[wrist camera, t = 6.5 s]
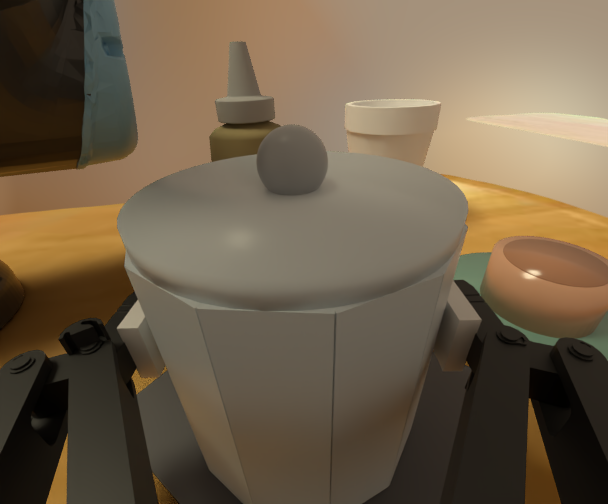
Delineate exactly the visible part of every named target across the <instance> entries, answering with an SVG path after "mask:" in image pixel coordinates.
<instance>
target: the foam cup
mask: <svg viewBox="0 0 608 504" xmlns="http://www.w3.org/2000/svg"><path fill="white" fill-rule="evenodd" d="M440 107H441V103H440V102H439V101H432V100H416V99H390V100H389V99H386V100H366V101H356V102H350V103H347V104H346V105H345V129H346V130H347V141H348V152H350V153H360V154H368V155H376V156H382V157H387V158H392V159H397V160H401V161H405V162H409V163H412V164H416V165H419V166H421V167H423V164H424V161H425V158H426V155H427V151H428V148H429V145H430V142H431V138H432V135H433V132H434V130H436V129H437V124H438V118H439V113H440Z"/></svg>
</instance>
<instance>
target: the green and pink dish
mask: <svg viewBox="0 0 608 504" xmlns="http://www.w3.org/2000/svg"><path fill="white" fill-rule="evenodd" d="M453 280H465V281H466V282H468V283H469V284H471V285H472V286H474V288H475V289H476V290H477V291H478V293H479V294H480V296H482V298H483V299H484V300H485V303H487V304H488V305H489V307H490V308H491V309H492V310H493V312H494V313H495V314H496V315H497V317H498V318H499V319H500V320H501V322H502V323H503V324H504V325H507V326H511V327H513V328H515V329H517V330H519V331H520V332H522V333H523V334H524V335H525V336H526V337H527V338H528V339H529V341H532V342H537V343H542V344H546V345H551V346H554V345H555V344H556V342H557V341H558V340H559V339H560V338H564V337H568V338H575V339H578V340H582V341H584V342H586V343H588V344H590V345H592V346H594V347H595V348H596V349H598V350H599V351H600V352H601V353H602V354H603V355H604V356H605V357H606V359H607V361H608V260H607V259H606V258H604V257H602V256H600V255H598V254H596V253H594V252H592V251H590V250H587V249H585V248H582V247H579V246H577V245H573V244H570V243H567V242H563V241H559V240H554V239H549V238H543V237H534V236H514V237H508V238H504V239H502V240H500V241H498V242H497V243H496V244H495V245H494V248H493V250H492V253H491V252H490V253H471V254H465V255H461V256H460V257H459V260H458V264H457V268H456V271H455V275H454V278H453Z"/></svg>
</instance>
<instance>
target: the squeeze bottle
mask: <svg viewBox="0 0 608 504" xmlns="http://www.w3.org/2000/svg"><path fill="white" fill-rule="evenodd" d="M215 104H216V110H217V115H218V121H219V122H221V123H226V124H224V125H223V126H220V127H218V128H216V129H215V130H214V131H213V133H212V134H211V135H210V149H211V160H212V162H214V161H219V160H224V159H229V158H235V157H241V156H248V155H255V154H257V152H258V149H259V146H260V144H261V142H262V141H263V139H264V138H265V137H266V136H267V135H268V134H269V133H270V132H271V131H272V130H274V129H276V128H278V127H281V126H280V125H278V124H275V123H273V122H270V120H273V119H274V118H275V111H274V99H273V97H269V96H262V95H261V94H260V91H259V87H258V84H257V80H256V77H255V74H254V70H253V66H252V63H251V59H250V56H249V53H248V49H247V46H246V42H230V47H229V71H228V96H227V97H225V98H221V99H217V100H216V101H215Z"/></svg>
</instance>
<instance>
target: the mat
mask: <svg viewBox="0 0 608 504" xmlns="http://www.w3.org/2000/svg"><path fill="white" fill-rule="evenodd" d="M470 373H471V368H470V367H468V366H466V365H465V366H464V369H463V371H443V370H442V368H441V366H440V363H439V361H438V359H437V357H436V355H435V353H434V352H433V353H432V356H431V360H430V363H429V367H428V370H427V374H426V378H425V381H424V385H423V388H422V392H421V395H420V399H419V402H418V406H417V410H416V413H415V417H414V420H413V424H412V427H411V430H410V433H409V436H408V438H407V441H406V443H405V446H404V449H403V451H402V454H401V457H400V459H399V462H398V465H397V467H396V470H395V472H394V475H393V478H392V480H391V483H390V486H389V487H387V488H386V489H384V490H383V491H381V492H380V493H378V494H376V495H375V496H373V497H372V498H370V499H369V500H367V501H365V502H364V503H362V504H440V499H441V495H442V491H443V487H444V482H445V478H446V474H447V469H448V465H449V461H450V456H451V452H452V448H453V443H454V439H455V435H456V431H457V426H458V422H459V418H460V413H461V409H462V405H463V400H464V396H465V392H466V389H465V385H466V383H467V380H468V378H469V375H470ZM137 400H138V405H139V410H140V415H141V420H142V425H143V430H144V435H145V440H146V445H147V449H148V454H149V459H150V464H151V469H152V472H153V473H154V475H155V476H156V477H157V478H158V479H159V480H160V482H161V483H162V484H163V485H164V486H165V487H166V489H167V490H168V491H169V492H170V493H171V494H172V496H173V497H174V498H175V499H176V500H177V501H178V503H179V504H243V503H242V502H241V501H240V500H239V499H238V498H237V497H236V496H235V495H234V494H233V493H232V492H231V491H230V490H229V489H228V488H227V487H226V486H225V485H224V484H223V483H222V482H221V481H220V480H219V479H218V478H216V477H215V476H214V475H213V474H212V473H211V472H210V471H209V468H208V466H207V464H206V461H205V459H204V456H203V454H202V452H201V449H200V447H199V444H198V442H197V440H196V437H195V435H194V432H193V430H192V428H191V425H190V423H189V420H188V418H187V416H186V413H185V411H184V409H183V406H182V404H181V401H180V399H179V397H178V394H177V392H176V389H175V387H174V385H173V382H172V380H171V377H170V375H169V373H168V370H167V371H166V372H165V373H163V374H162V375H161V376H160V377H158V378H157V379H156V380H155V381H153V382H152V383H151V384H150V385H148V386H147V387H146V388H145V389H143V390H142V391H141V392H140V393H138V394H137Z"/></svg>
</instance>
